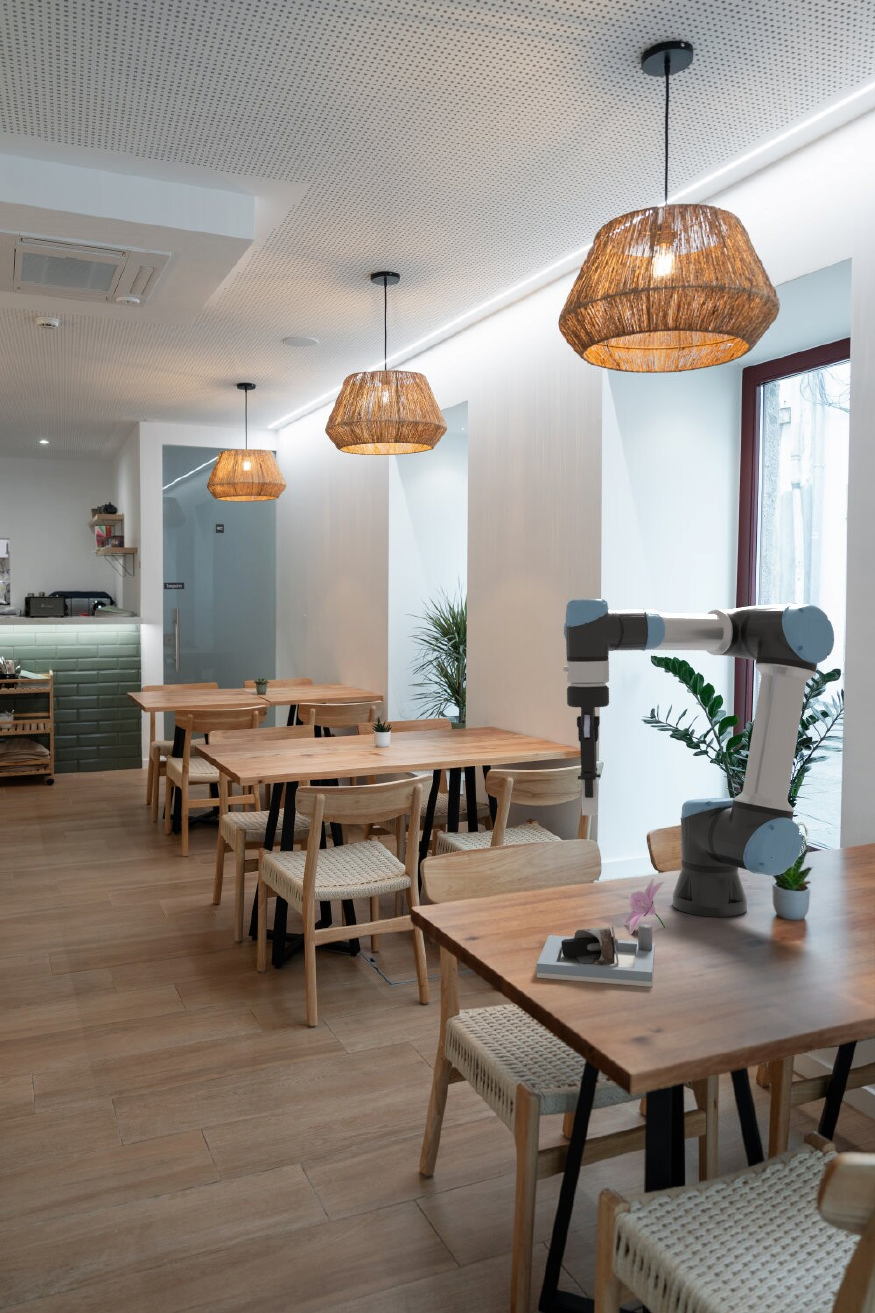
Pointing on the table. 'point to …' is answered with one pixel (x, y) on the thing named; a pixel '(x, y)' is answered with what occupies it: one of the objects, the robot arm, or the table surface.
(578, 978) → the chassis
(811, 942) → the table surface
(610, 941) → the caster wheel
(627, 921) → the lily
